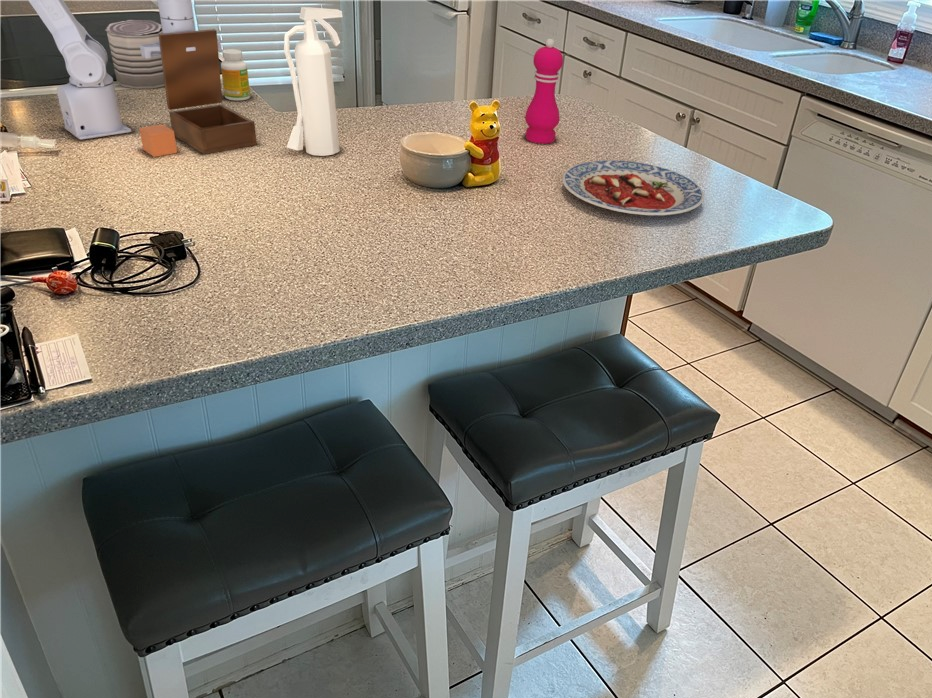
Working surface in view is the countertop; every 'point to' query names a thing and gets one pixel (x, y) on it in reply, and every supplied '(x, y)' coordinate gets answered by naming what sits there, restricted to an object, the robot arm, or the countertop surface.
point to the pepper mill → (544, 95)
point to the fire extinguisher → (314, 84)
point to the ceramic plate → (633, 187)
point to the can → (135, 53)
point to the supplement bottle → (235, 75)
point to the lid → (191, 68)
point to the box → (213, 128)
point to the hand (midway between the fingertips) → (188, 93)
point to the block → (158, 140)
